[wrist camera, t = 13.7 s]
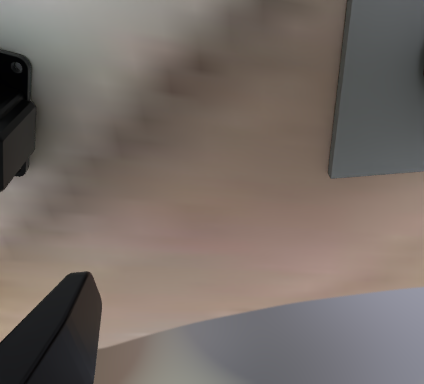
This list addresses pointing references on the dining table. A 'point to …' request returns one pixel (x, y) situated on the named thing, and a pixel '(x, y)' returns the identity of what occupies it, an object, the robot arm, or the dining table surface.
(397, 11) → the mat
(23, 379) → the robot arm
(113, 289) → the dining table surface
